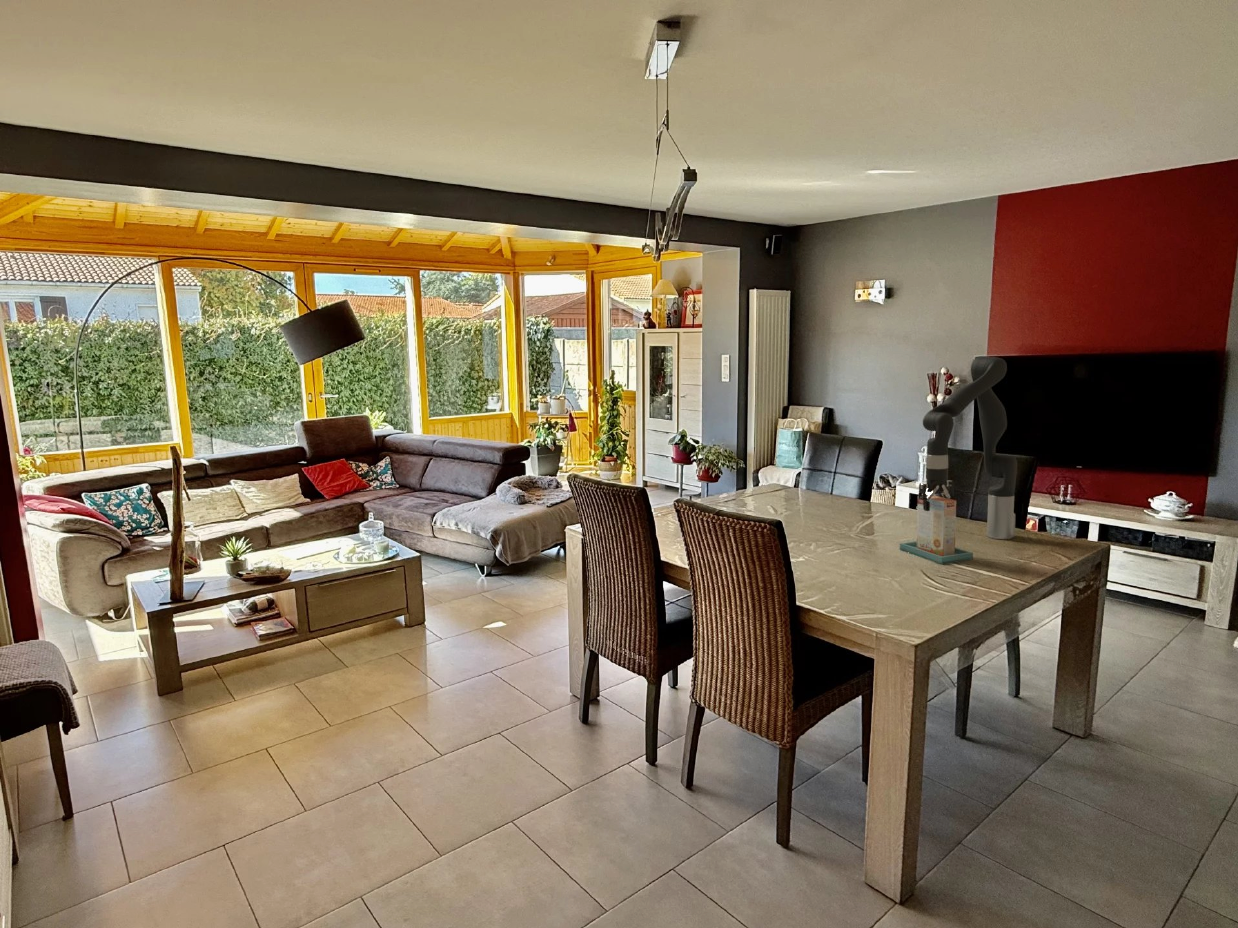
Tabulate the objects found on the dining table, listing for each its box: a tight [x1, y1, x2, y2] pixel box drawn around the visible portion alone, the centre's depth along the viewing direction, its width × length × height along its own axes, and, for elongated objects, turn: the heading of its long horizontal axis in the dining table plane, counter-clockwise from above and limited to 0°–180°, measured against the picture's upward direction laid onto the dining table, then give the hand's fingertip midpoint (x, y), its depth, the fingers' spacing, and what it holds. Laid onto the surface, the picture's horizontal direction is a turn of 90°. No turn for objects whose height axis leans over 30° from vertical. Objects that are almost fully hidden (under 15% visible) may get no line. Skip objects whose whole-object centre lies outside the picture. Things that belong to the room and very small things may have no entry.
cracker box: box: [916, 495, 957, 556], centre depth 273 cm, size 14×6×21 cm, turn 18°
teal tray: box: [899, 540, 974, 565], centre depth 274 cm, size 14×22×2 cm, turn 19°
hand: (936, 509), depth 272 cm, fingers open, 8 cm apart
